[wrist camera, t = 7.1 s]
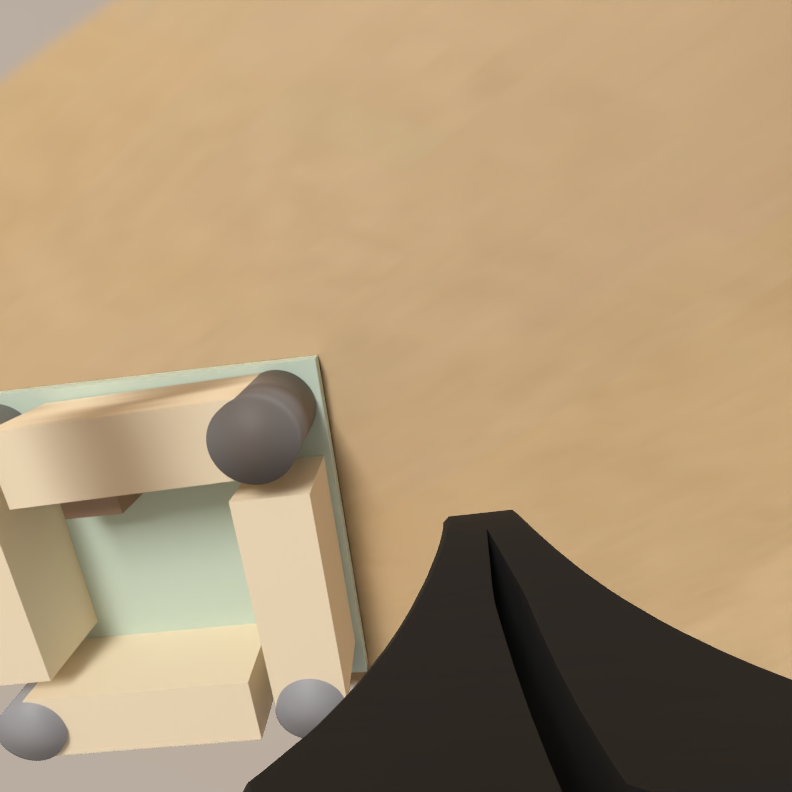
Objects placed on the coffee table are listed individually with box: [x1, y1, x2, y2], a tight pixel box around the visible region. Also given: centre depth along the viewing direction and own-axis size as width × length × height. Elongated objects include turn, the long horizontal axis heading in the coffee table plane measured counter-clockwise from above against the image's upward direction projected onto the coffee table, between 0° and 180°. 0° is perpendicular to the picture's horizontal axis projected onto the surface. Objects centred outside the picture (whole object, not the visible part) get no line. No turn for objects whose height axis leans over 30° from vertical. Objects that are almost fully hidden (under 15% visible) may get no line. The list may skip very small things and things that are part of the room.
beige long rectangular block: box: [0, 370, 316, 510], centre depth 17 cm, size 9×3×3 cm, turn 98°
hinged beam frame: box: [0, 355, 368, 761], centre depth 19 cm, size 13×13×4 cm
